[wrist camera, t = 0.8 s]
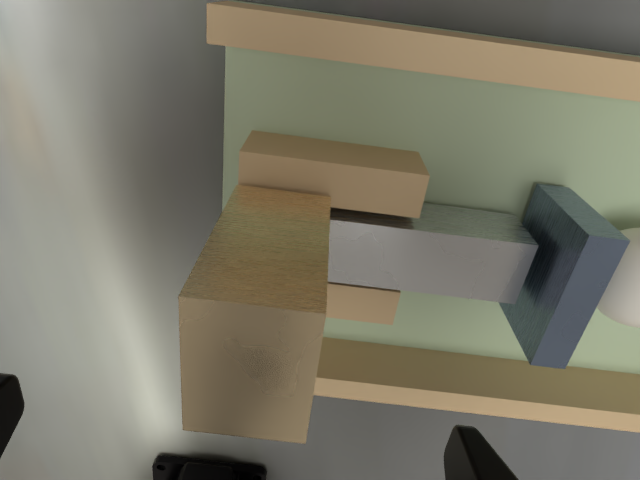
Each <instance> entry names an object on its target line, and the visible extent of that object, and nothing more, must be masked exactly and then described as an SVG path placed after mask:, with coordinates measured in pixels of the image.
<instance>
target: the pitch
mask: <svg viewBox="0 0 640 480" xmlns="http://www.w3.org/2000/svg"><path fill="white" fill-rule="evenodd" d="M207 44H214V45H222V46H226V57H225V103H224V150H223V196H222V211H223V209H224V208H225V206H226V204H227V202H228V200H229V198H230V196H231V194H232V192H233V190H234V188H235V186H236V185H242V186H250V187H258V188H266V189H274V190H282V191H290V192H298V193H306V194H313V195H321V196H329V197H331V206H330V207H333V208H341V209H349V210H357V211H365V212H372V213H380V214H388V215H396V216H404V217H412V218H420V214H421V210H422V206H423V203H430V204H438V205H445V206H453V207H461V208H469V209H477V210H485V211H493V212H501V213H509V214H515V216H516V217H517V218H518V220H519V221H520V222H521V223H522V222H523V219H524V217H525V214H526V211H527V209H528V206H529V203H530V200H531V198H532V195H533V192H534V190H535V187H536V184H537V183H538V184H546V185H553V186H561V187H569V188H570V189H572V190H573V191H574V192H575V193H576V194H577V195H578V196H580V197H581V198H582V199H583V200H584V201H585V202H587V203H588V204H589V205H590V206H591V207H592V208H593V209H595V210H596V211H597V212H598V213H599V214H600V215H602V216H603V217H604V218H605V219H606V220H607V221H608V222H610V223H611V224H612V225H613V226H614V227H615V228H616V229H618V230H619V231H620V230H624V229H630V228H640V56H638V55H630V54H623V53H616V52H608V51H601V50H594V49H587V48H579V47H572V46H565V45H557V44H550V43H543V42H536V41H528V40H521V39H514V38H506V37H499V36H492V35H485V34H477V33H470V32H463V31H455V30H448V29H441V28H434V27H426V26H419V25H412V24H404V23H397V22H390V21H383V20H375V19H368V18H361V17H353V16H346V15H339V14H331V13H324V12H317V11H310V10H302V9H295V8H288V7H280V6H273V5H266V4H259V3H251V2H244V1H237V0H229V1H221V2H212V3H207ZM313 395H318V396H327V397H335V398H344V399H353V400H361V401H370V402H379V403H387V404H396V405H405V406H414V407H422V408H431V409H440V410H448V411H457V412H466V413H474V414H483V415H492V416H501V417H509V418H518V419H527V420H535V421H544V422H553V423H562V424H570V425H579V426H588V427H596V428H605V429H614V430H622V431H631V432H640V328H637V327H631V326H627V325H624V324H621V323H618V322H616V321H614V320H612V319H610V318H608V317H607V316H605V315H604V314H603V313H601V312H600V311H599V310H598V309H597V308H596V309H595V311H594V313H593V315H592V317H591V319H590V321H589V323H588V325H587V327H586V329H585V331H584V333H583V335H582V337H581V339H580V341H579V343H578V345H577V347H576V349H575V350H574V352H573V354H572V356H571V358H570V360H569V362H568V364H567V366H566V368H565V369H559V368H551V367H542V366H534V365H530V364H529V362H528V360H527V358H526V356H525V354H524V352H523V350H522V348H521V346H520V344H519V342H518V340H517V338H516V336H515V334H514V332H513V330H512V328H511V326H510V324H509V322H508V320H507V318H506V316H505V314H504V312H503V310H502V308H501V307H500V305H499V303H498V302H493V301H485V300H476V299H468V298H460V297H452V296H443V295H435V294H427V293H419V292H411V291H402V290H394V289H386V288H378V287H369V286H361V285H353V284H345V283H336V282H328V284H327V310H326V319H325V326H324V332H323V338H322V344H321V351H320V357H319V363H318V369H317V375H316V382H315V388H314V394H313Z"/></svg>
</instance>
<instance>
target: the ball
mask: <svg viewBox="0 0 640 480" xmlns="http://www.w3.org/2000/svg"><path fill="white" fill-rule="evenodd" d="M620 232H621V233H622V234H623V235H625V236H626V237H627V238H628V239H629V240H630V242H629V244H628V246H627V248H626V250H625V252H624V254H623V256H622V258H621V260H620V262H619V264H618V266H617V268H616V270H615V272H614V274H613V276H612V278H611V280H610V282H609V284H608V286H607V288H606V290H605V292H604V294H603V296H602V297H601V299H600V301H599V303H598V305H597V307H596V308H597V309H598V310H599V311H600V312H601V313H603V314H604V315H605V316H607V317H608V318H610V319H612V320H614V321H616V322H618V323H621V324H624V325H627V326H631V327H637V328H640V228H630V229H624V230H620Z"/></svg>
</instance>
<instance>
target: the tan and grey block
mask: <svg viewBox="0 0 640 480" xmlns="http://www.w3.org/2000/svg"><path fill="white" fill-rule="evenodd" d="M330 206H331V197H329V196H321V195H313V194H306V193H298V192H290V191H282V190H274V189H266V188H258V187H250V186H242V185H236V186H235V188H234V190H233V192H232V194H231V196H230V198H229V200H228V202H227V204H226V206H225V208H224V209H223V211H222V213H221V215H220V217H219V219H218V221H217V223H216V225H215V227H214V229H213V231H212V233H211V235H210V236H209V238H208V240H207V242H206V244H205V246H204V248H203V250H202V252H201V254H200V256H199V258H198V260H197V262H196V263H195V265H194V267H193V269H192V271H191V273H190V275H189V277H188V279H187V281H186V283H185V285H184V287H183V288H182V290H181V292H180V294H179V296H178V299H179V331H180V362H181V393H182V424H183V430H186V431H195V432H204V433H213V434H222V435H231V436H240V437H249V438H258V439H267V440H275V441H284V442H293V443H302V444H306V438H307V431H308V425H309V419H310V413H311V407H312V400H313V394H314V388H315V382H316V375H317V369H318V363H319V357H320V351H321V344H322V338H323V332H324V326H325V319H326V310H327V284H328V282H336V283H345V284H353V285H361V286H369V287H378V288H386V289H394V290H402V291H411V292H419V293H427V294H435V295H443V296H452V297H460V298H468V299H476V300H485V301H493V302H498V303H499V305H500V307H501V308H502V310H503V312H504V314H505V316H506V318H507V320H508V322H509V324H510V326H511V328H512V330H513V332H514V334H515V336H516V338H517V340H518V342H519V344H520V346H521V348H522V350H523V352H524V354H525V356H526V358H527V360H528V362H529V364H530V365H534V366H542V367H551V368H559V369H565V368H566V366H567V364H568V362H569V360H570V358H571V356H572V354H573V352H574V350H575V349H576V347H577V345H578V343H579V341H580V339H581V337H582V335H583V333H584V331H585V329H586V327H587V325H588V323H589V321H590V319H591V317H592V315H593V313H594V311H595V309H596V307H597V305H598V303H599V301H600V299H601V297H602V296H603V294H604V292H605V290H606V288H607V286H608V284H609V282H610V280H611V278H612V276H613V274H614V272H615V270H616V268H617V266H618V264H619V262H620V260H621V258H622V256H623V254H624V252H625V250H626V248H627V246H628V244H629V242H630V240H629V239H628V238H627V237H626V236H625V235H623V234H622V233H621V232H620V231H619V230H618V229H616V228H615V227H614V226H613V225H612V224H611V223H610V222H608V221H607V220H606V219H605V218H604V217H603V216H602V215H600V214H599V213H598V212H597V211H596V210H595V209H593V208H592V207H591V206H590V205H589V204H588V203H587V202H585V201H584V200H583V199H582V198H581V197H580V196H578V195H577V194H576V193H575V192H574V191H573V190H572V189H570V188H569V187H561V186H553V185H546V184H538V183H537V184H536V187H535V190H534V192H533V195H532V198H531V200H530V203H529V206H528V209H527V211H526V214H525V217H524V219H523V222H522V223H521V222H520V221H519V220H518V218H517V217H516V216H515V214H509V213H501V212H493V211H485V210H477V209H469V208H461V207H453V206H445V205H438V204H430V203H423V206H422V210H421V214H420V218H412V217H404V216H396V215H388V214H380V213H372V212H365V211H357V210H349V209H341V208H333V207H330Z"/></svg>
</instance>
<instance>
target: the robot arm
mask: <svg viewBox="0 0 640 480" xmlns="http://www.w3.org/2000/svg"><path fill="white" fill-rule="evenodd" d="M23 411H24V399H23V395H22V391H21V387H20V384H19V380H18V378H17V377H16V376H15V375H13V374H4V373H0V458H1V456H2V454H3V452H4V450H5V448H6V446H7V444H8V442H9V440H10V438H11V436H12V434H13V432H14V430H15V428H16V426H17V424H18V422H19V420H20V418H21V416H22V414H23ZM152 468H153V480H266V475H267V471H266V470H265V468H263V467H260V466H252V465H242V464H233V463H224V462H215V461H206V460H197V459H188V458H179V457H170V456H158V457H156V458H155V460H154V463H153V466H152ZM444 468H445V478H446V480H518V478H517V477H516V476H515V475H514V474H513V472H512V471H511V470H510V469H509V467H508V466H507V465H506V464H505V463H504V461H503V460H502V459H501V458H500V456H499V455H498V454H497V453H496V452H495V450H494V449H493V448H492V447H491V446H490V444H489V443H488V442H487V441H486V439H485V438H484V437H483V436H482V435H481V433H480V432H479V431H478V430H477V429H476V428H475V427H472V426H464V425H456V426H455V427H454V428H453V430H452V432H451V435H450V438H449V440H448V443H447V445H446V448H445V452H444Z"/></svg>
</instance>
